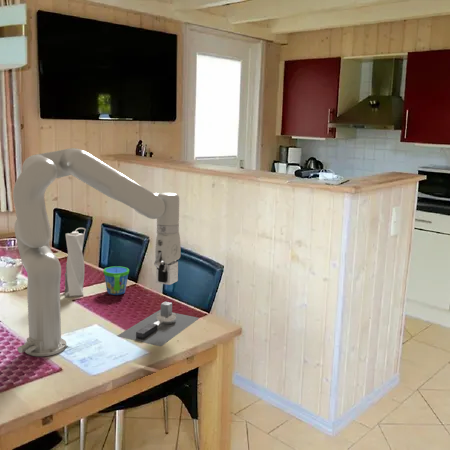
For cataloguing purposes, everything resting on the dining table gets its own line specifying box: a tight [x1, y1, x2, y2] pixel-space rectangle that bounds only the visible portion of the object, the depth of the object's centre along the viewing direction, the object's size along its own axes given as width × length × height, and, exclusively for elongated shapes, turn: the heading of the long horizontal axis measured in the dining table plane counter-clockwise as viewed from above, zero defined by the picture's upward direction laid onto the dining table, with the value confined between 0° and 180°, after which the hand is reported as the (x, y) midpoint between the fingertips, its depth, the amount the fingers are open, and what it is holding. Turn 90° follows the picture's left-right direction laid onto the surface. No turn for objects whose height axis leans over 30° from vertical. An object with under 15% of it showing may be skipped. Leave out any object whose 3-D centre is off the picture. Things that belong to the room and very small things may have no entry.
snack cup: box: [103, 265, 130, 296], centre depth 216 cm, size 16×10×10 cm
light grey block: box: [155, 261, 179, 286], centre depth 179 cm, size 5×5×7 cm
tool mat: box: [117, 309, 200, 347], centre depth 181 cm, size 28×17×1 cm, turn 157°
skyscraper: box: [64, 227, 87, 298], centre depth 210 cm, size 8×8×28 cm
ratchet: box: [136, 301, 176, 340], centre depth 179 cm, size 21×7×7 cm, turn 157°
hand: (167, 279), depth 180 cm, fingers closed on light grey block, 5 cm apart
